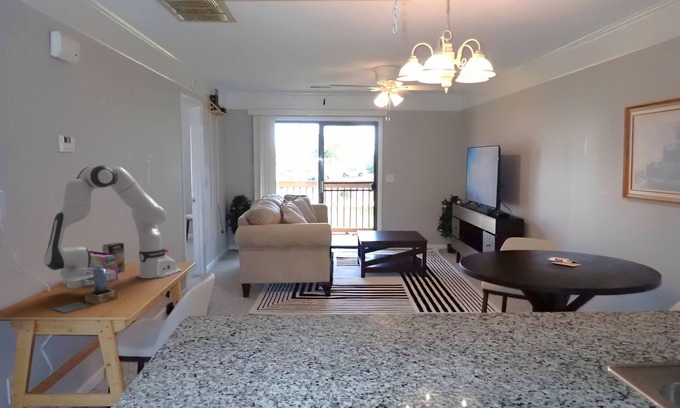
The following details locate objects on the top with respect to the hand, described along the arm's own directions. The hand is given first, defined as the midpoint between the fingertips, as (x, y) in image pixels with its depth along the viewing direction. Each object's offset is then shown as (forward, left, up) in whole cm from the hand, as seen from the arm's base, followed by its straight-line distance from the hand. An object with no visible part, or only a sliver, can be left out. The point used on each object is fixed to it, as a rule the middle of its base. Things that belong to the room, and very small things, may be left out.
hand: (100, 281), depth 197 cm
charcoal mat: (+13, 0, -9) cm, 16 cm away
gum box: (-19, -38, -9) cm, 44 cm away
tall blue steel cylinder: (0, 0, -9) cm, 9 cm away
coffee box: (-32, -44, -9) cm, 55 cm away
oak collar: (0, 0, -9) cm, 9 cm away
